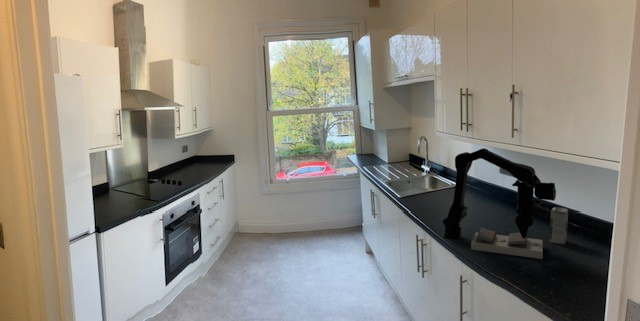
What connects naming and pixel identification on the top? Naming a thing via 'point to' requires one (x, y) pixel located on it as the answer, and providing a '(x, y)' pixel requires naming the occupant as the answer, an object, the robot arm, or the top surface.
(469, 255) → the top surface
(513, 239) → the right rocker
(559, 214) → the syrup box
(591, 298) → the top surface
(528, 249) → the double rocker switch panel
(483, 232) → the dark grey rectangular block
